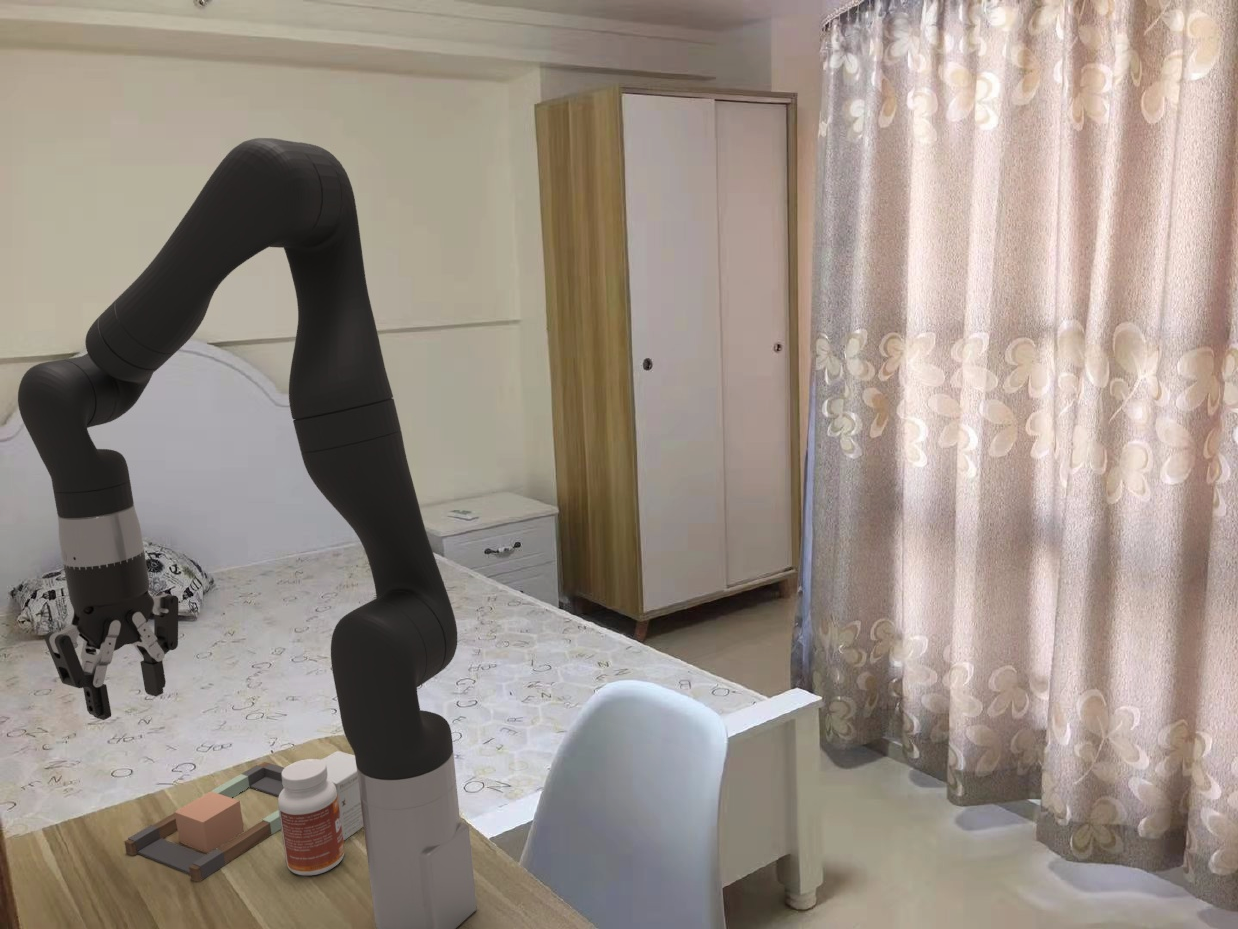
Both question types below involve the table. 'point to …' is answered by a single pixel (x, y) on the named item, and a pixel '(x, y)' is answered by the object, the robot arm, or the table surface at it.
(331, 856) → the pill bottle
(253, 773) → the frame
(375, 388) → the robot arm
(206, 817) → the terracotta block
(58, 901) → the table surface
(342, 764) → the product box
